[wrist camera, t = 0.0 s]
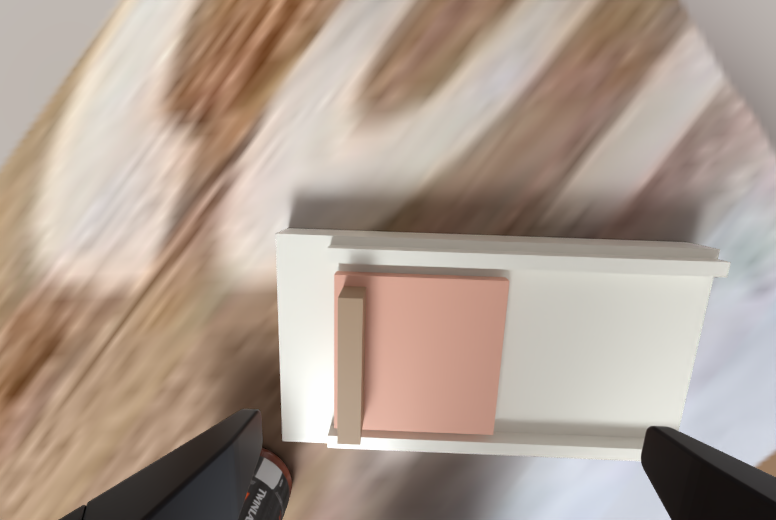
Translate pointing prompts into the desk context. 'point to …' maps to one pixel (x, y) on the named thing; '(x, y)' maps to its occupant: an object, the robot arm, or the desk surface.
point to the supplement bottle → (267, 489)
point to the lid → (416, 352)
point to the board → (516, 335)
